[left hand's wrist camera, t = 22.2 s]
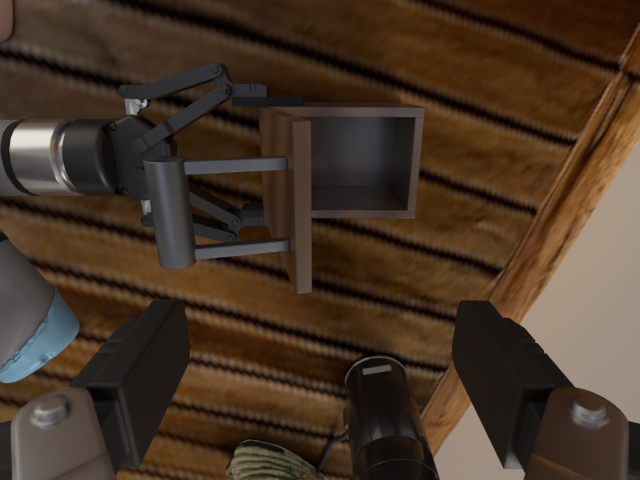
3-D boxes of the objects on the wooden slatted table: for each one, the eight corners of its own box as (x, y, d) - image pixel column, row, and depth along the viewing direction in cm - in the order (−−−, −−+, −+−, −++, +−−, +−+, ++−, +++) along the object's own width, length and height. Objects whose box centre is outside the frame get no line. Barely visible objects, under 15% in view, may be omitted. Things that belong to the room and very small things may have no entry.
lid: (311, 120, 20) (129, 123, 18) (312, 292, 24) (161, 312, 22) (269, 107, 34) (161, 108, 31) (274, 219, 37) (178, 227, 35)
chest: (401, 102, 44) (425, 107, 34) (395, 190, 48) (414, 218, 38) (277, 102, 44) (264, 106, 34) (280, 190, 48) (269, 218, 38)
